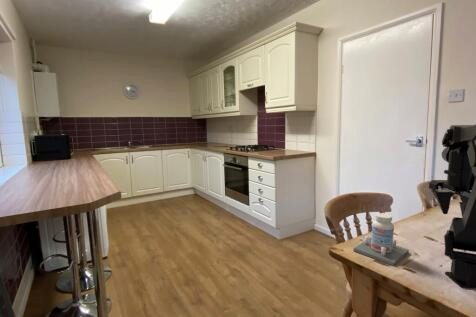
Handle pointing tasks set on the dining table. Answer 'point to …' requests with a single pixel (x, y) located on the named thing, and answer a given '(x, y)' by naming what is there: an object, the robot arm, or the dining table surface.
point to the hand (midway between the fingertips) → (455, 219)
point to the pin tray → (382, 252)
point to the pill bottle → (382, 232)
